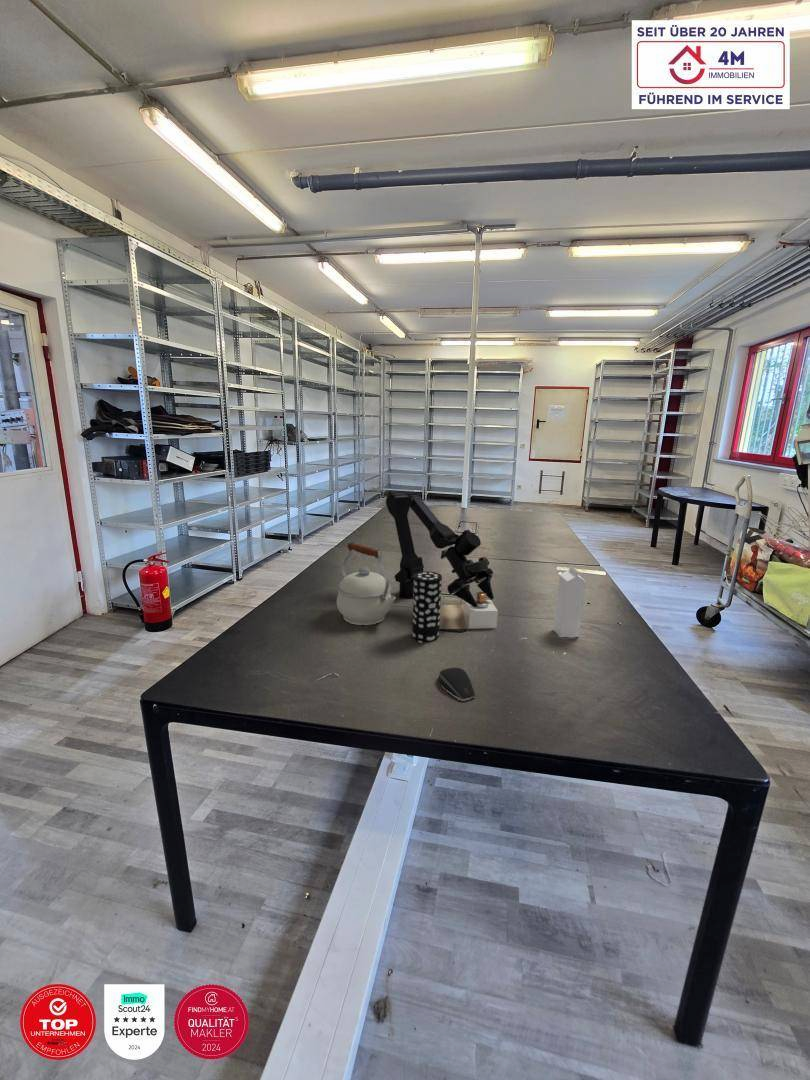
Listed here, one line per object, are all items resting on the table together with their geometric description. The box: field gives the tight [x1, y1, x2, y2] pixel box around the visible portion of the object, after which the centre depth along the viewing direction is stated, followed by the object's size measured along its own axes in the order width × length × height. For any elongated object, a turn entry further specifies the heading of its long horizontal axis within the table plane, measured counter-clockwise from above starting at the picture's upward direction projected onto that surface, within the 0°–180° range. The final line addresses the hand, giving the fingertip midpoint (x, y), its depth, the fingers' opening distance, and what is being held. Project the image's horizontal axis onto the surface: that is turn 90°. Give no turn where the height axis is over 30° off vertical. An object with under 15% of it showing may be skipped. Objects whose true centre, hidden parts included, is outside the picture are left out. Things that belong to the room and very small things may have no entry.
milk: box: [552, 565, 587, 638], centre depth 137 cm, size 6×6×22 cm
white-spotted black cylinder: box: [411, 570, 443, 644], centre depth 133 cm, size 8×8×20 cm
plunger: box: [474, 591, 489, 607], centre depth 144 cm, size 5×5×9 cm
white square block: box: [463, 599, 499, 629], centre depth 145 cm, size 9×9×6 cm
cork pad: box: [439, 604, 480, 630], centre depth 150 cm, size 19×19×1 cm
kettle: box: [336, 541, 396, 626], centre depth 145 cm, size 25×18×25 cm
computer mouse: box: [438, 667, 476, 699], centre depth 110 cm, size 7×12×4 cm, turn 23°
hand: (484, 602), depth 143 cm, fingers open, 9 cm apart
